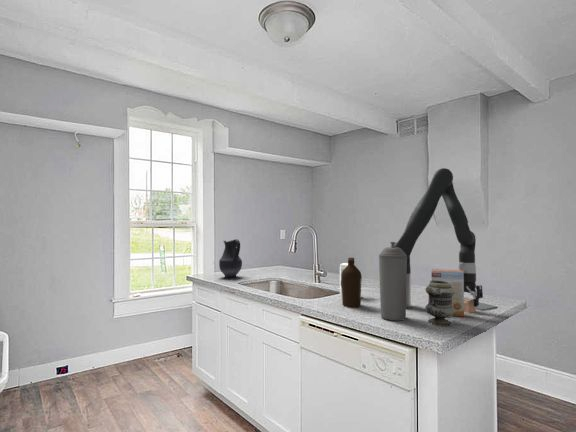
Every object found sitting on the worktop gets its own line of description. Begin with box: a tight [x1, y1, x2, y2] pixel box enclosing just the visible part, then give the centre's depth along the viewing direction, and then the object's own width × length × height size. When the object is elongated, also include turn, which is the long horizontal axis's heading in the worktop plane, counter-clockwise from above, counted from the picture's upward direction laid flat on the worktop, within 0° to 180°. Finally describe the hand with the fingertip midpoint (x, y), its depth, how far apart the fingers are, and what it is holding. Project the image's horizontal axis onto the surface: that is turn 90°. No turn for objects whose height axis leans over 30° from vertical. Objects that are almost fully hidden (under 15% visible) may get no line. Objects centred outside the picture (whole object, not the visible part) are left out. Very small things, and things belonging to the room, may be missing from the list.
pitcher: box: [218, 238, 243, 280], centre depth 278 cm, size 17×21×30 cm
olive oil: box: [341, 257, 363, 308], centre depth 190 cm, size 11×11×25 cm
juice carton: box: [339, 262, 357, 297], centre depth 212 cm, size 8×9×19 cm
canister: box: [378, 241, 407, 321], centre depth 166 cm, size 13×13×35 cm
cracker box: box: [431, 268, 465, 318], centre depth 172 cm, size 14×6×21 cm, turn 65°
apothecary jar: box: [424, 279, 455, 327], centre depth 158 cm, size 12×12×18 cm
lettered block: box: [464, 297, 476, 314], centre depth 177 cm, size 5×5×6 cm
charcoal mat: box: [475, 301, 498, 312], centre depth 185 cm, size 12×12×1 cm
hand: (468, 304), depth 177 cm, fingers open, 8 cm apart
